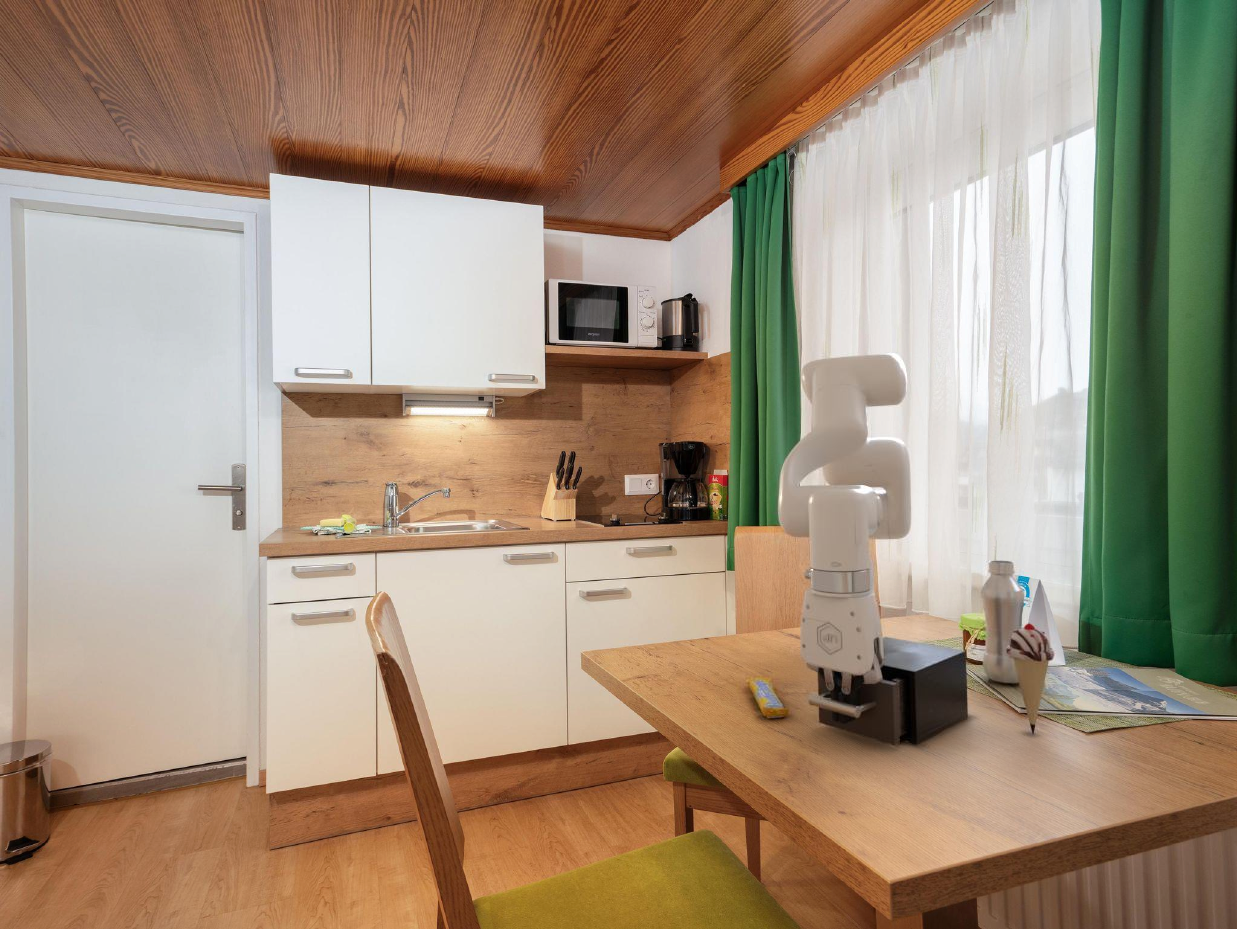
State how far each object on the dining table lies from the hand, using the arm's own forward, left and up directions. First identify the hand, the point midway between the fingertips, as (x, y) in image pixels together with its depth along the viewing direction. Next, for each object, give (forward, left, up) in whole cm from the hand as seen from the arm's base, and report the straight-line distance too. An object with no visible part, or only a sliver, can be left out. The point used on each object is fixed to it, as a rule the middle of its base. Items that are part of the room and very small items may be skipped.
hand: (844, 719), depth 93 cm
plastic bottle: (+3, +42, -4) cm, 42 cm away
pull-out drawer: (0, +6, -2) cm, 7 cm away
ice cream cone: (+15, +21, -4) cm, 26 cm away
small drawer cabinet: (0, +14, -3) cm, 14 cm away
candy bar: (-18, +6, -4) cm, 19 cm away
